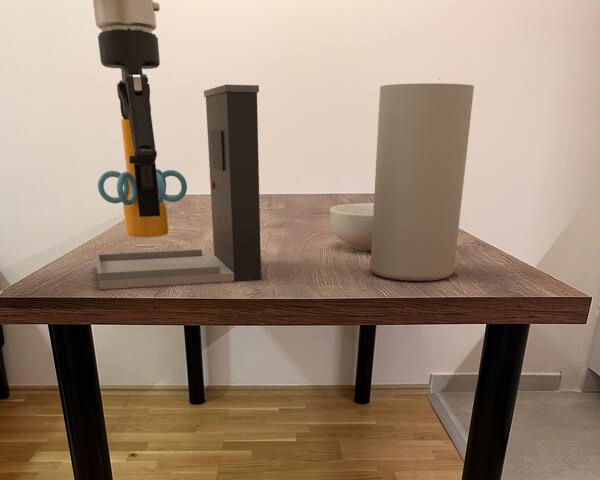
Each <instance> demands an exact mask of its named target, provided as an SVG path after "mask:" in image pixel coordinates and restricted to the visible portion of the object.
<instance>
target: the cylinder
mask: <svg viewBox="0 0 600 480" xmlns="http://www.w3.org/2000/svg"><path fill="white" fill-rule="evenodd" d="M120 123H121V131H122V141H123V151H124V160H125V167H126V168H125V169H126V170H125V171H123V172H120V171H117V170H108V171H105V172H104V173H102V174H101V175H100V177H99V178H98V181H97V189H98V193H99V195H100V196H101V198H102V199H103V200H105V201H106V202H107V203H111V204H120V203H122V204H123V205H122V207H123V216H124V224H125V233H126V235H127V236H129V237H131V238H132V237H133V238H156V237H164V236H167V235H168V234H169V221H168V211H167V209H168V208H167V203H166V201H167V202H169V203H177V202H179V201H181V200H182V199H184V197H185V196H186V194H187V190H188V184H187V180H186V178H185V176H183V174H182V173H180V172H179V171H177V170H175V169H174V170H173V169H168V170H165V171H162V170H161V169H159V168H156V175H157V186H158V197H159V208H160V216H150V217H140V216H139V208H138V198H137V189H136V179H135V170H134V164H130V162H129V156H134V149H133V143H132V136H131V130H130V123H129V119H124V120H123V119H121V120H120ZM152 164H156V162H155V163H152ZM167 177H175V178H176V179H178V180H179V182H180V186H181V188H180V191H179V192H178V194H176V195H169V194H167V193H166V192H167V181H166V178H167ZM109 178H117V182H116V191H117V197H113V196H111V195H109V194H107V192H106V191H105V182H106V180H107V179H109Z"/></svg>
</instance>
